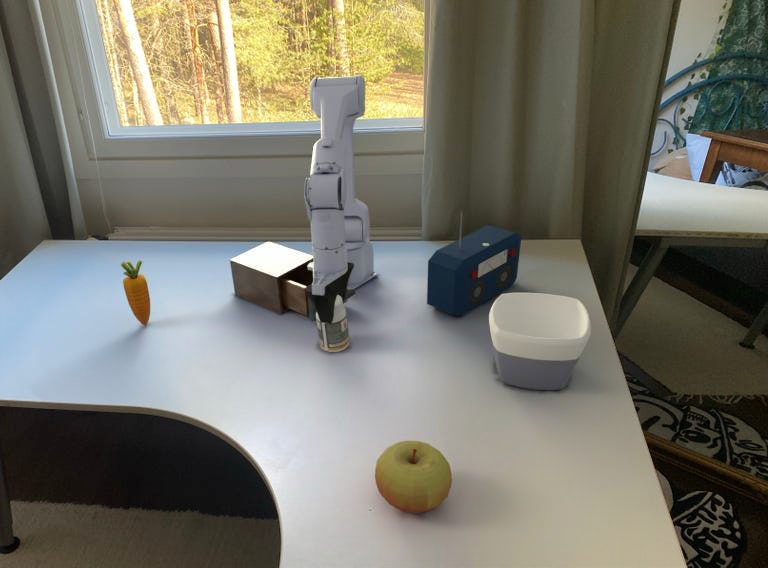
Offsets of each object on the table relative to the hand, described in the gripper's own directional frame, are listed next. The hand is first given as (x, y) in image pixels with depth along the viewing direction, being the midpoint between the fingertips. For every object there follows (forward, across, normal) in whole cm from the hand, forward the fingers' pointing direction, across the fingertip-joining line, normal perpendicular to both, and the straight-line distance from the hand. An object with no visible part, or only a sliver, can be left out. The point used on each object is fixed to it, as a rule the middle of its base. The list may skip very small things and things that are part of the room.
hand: (332, 311), depth 114 cm
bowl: (+8, 0, +35) cm, 36 cm away
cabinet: (+7, -17, -19) cm, 26 cm away
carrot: (+8, +2, -41) cm, 42 cm away
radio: (+8, -24, +23) cm, 34 cm away
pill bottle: (+7, 0, 0) cm, 7 cm away
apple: (+8, +34, +21) cm, 40 cm away
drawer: (+6, -12, -8) cm, 16 cm away
